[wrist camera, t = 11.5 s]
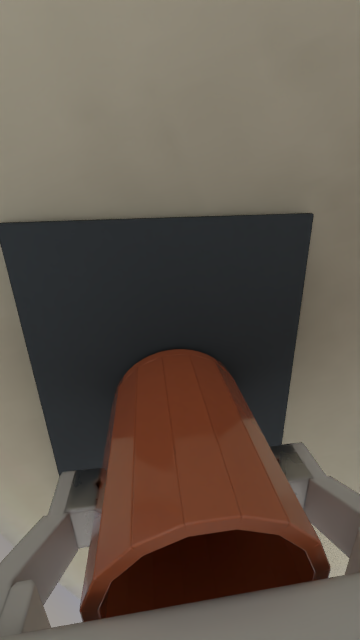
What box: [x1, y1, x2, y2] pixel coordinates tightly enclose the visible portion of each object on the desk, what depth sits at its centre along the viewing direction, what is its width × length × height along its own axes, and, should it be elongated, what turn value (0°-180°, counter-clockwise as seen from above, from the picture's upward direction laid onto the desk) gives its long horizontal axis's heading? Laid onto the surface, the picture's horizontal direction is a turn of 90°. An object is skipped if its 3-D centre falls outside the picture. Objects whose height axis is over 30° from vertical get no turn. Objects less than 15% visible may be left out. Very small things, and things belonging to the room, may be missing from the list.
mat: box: [0, 213, 313, 477], centre depth 15 cm, size 18×13×1 cm
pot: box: [80, 349, 330, 622], centre depth 11 cm, size 6×6×8 cm
